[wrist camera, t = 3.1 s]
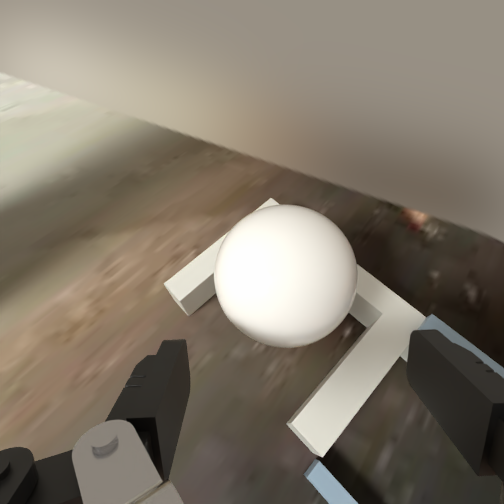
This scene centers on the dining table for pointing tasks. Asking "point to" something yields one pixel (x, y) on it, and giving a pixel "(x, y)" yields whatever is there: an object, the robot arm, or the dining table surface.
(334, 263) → the lightbulb
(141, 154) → the dining table surface
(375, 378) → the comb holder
